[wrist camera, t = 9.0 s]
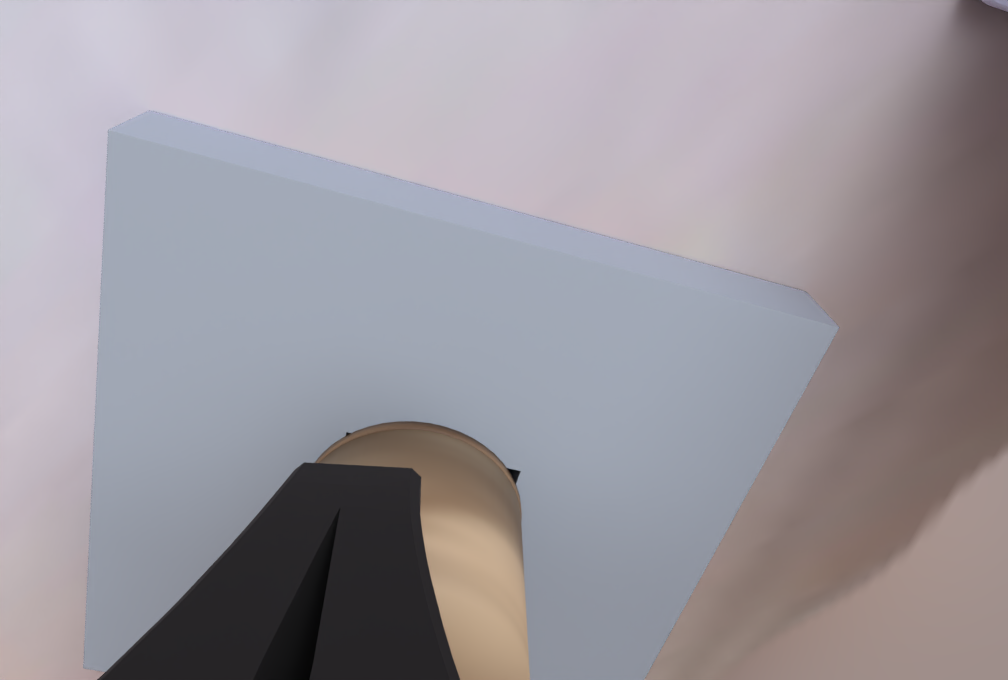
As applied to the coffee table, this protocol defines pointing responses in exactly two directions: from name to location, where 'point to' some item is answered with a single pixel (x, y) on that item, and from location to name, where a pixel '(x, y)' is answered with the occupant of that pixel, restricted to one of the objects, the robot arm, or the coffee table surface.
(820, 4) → the coffee table surface
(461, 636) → the oak peg
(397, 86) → the coffee table surface
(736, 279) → the mortise board
